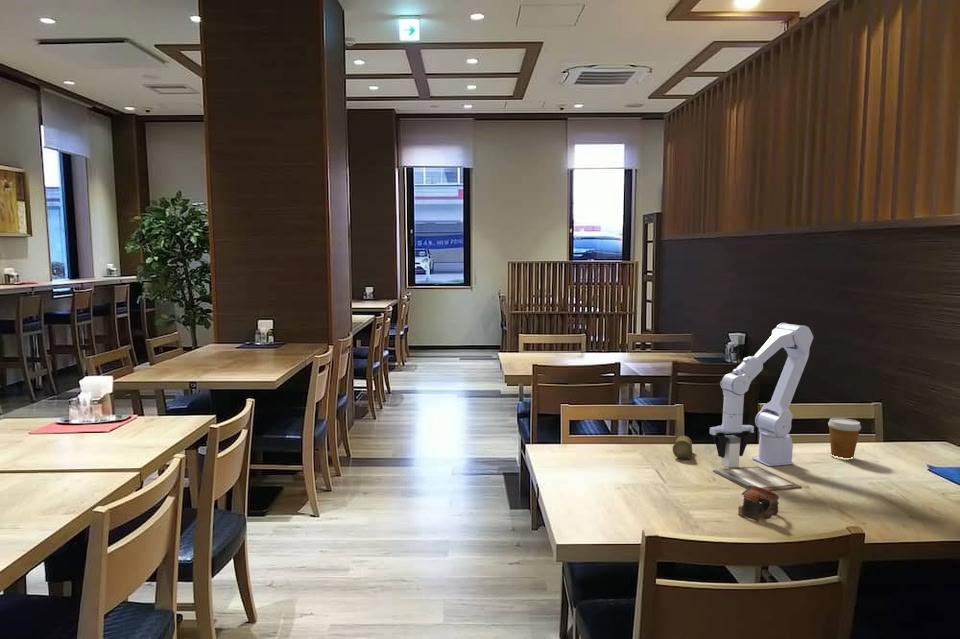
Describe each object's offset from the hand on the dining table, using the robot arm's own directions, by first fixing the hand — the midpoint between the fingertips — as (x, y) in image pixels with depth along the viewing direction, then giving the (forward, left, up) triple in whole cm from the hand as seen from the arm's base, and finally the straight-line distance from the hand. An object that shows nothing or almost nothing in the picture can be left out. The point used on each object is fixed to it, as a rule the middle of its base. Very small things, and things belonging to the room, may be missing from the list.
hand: (730, 456), depth 203 cm
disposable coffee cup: (-42, +1, -3) cm, 42 cm away
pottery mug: (+19, +37, -3) cm, 41 cm away
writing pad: (+1, +13, -3) cm, 13 cm away
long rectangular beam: (0, 0, -3) cm, 3 cm away
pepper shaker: (+11, -8, 0) cm, 14 cm away
